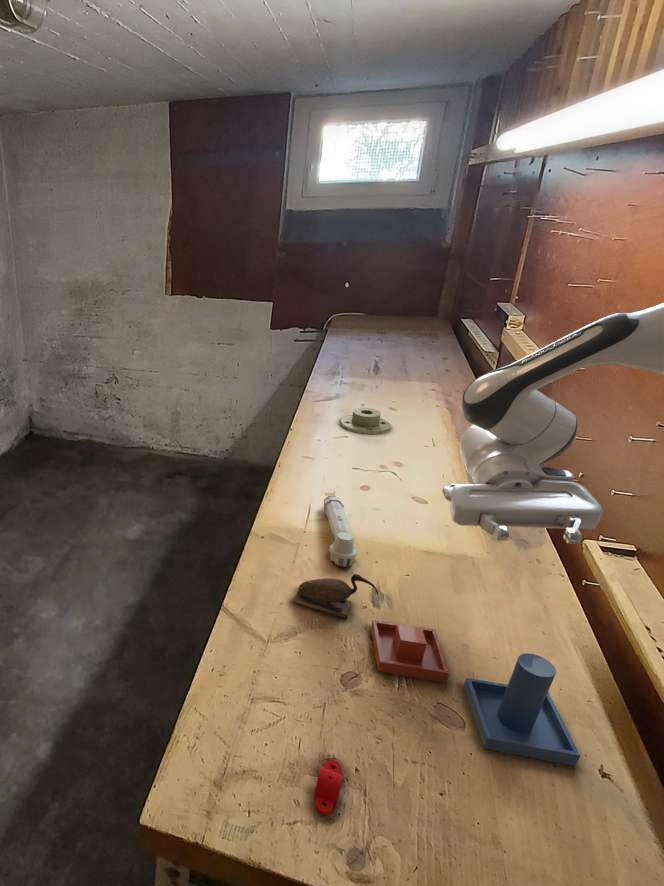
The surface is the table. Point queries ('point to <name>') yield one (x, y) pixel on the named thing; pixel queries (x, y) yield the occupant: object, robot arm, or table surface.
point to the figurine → (328, 594)
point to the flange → (365, 422)
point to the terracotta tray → (388, 663)
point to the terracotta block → (409, 643)
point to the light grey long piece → (339, 533)
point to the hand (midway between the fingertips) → (538, 539)
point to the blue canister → (526, 692)
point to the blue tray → (539, 743)
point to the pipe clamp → (328, 787)
